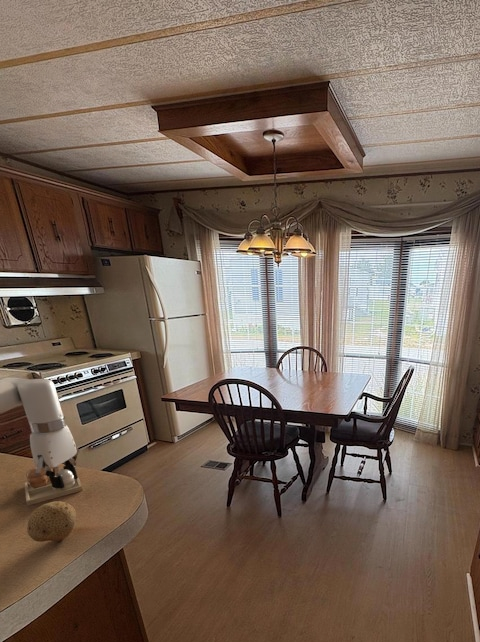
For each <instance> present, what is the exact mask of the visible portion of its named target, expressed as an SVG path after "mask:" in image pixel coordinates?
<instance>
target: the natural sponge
mask: <svg viewBox="0 0 480 642" xmlns="http://www.w3.org/2000/svg"><path fill="white" fill-rule="evenodd" d="M76 519H77V513H76V510H75V508H74V507H73V506H72V505H71V504H70V503H67V502H64V501H60V500H59V501H58V500H57V501H51V502H47V503H44V504H42V505H40V506H38V507H37V508H35V510H33V511H32V513H31V514H30V515H29V517H28V521H27V534H28V536H29V537H30V538H31V539H32V540H33V541H35V542H41V543H43V542H48V541H49V542H50V541H51V542H59V541H63V540H66V538H67V537H68V536H69V535H70V534H71V533H72V532H73V530H74V528H75V525H76Z"/></svg>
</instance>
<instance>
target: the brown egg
mask: <svg viewBox="0 0 480 642" xmlns="http://www.w3.org/2000/svg"><path fill="white" fill-rule="evenodd" d="M36 469H37V467H36V466H35V467H31V468H29V469H28V470H27V472H26V474H25V477H26V480H27V482H28V483H29V485H30V486H31V487H33V488H34V489H35V488H39V487H43V486H46V484H47V482H48V478H47V476H46V475H42V474H36Z"/></svg>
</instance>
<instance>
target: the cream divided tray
mask: <svg viewBox="0 0 480 642" xmlns="http://www.w3.org/2000/svg"><path fill="white" fill-rule="evenodd" d="M77 476H78V478H77V479H74V480H75V484H74V486H73V488H70V489H67V490H63V491H62V490H61V489H59V488H53V487H52V484H51V481H50V478H49V477H47V478H48V482H47V484H46V486H43V487H39V488H35V489H34V488H33V487H31V486H30V485H29V483H28V481H25V482H23V484H24V492H25V502H26V505H27V506H31V505H35V504H39V503H42V502H46V501H49V500H53V499H57V498H60V497H63V496H67V495H71V494H74V493H77V492H82V491H83V486H82V483H81V481H80V479H79V475H78V474H77Z"/></svg>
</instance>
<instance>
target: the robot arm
mask: <svg viewBox="0 0 480 642" xmlns="http://www.w3.org/2000/svg"><path fill="white" fill-rule="evenodd" d="M21 406H23V409H24V412H25V416H26V419H27V421H28V425H29V427H30V432H31V433H30V434H29V446H30V451H31V456H32V460H33V464H34V465H35V467H37V469H36V474H42V475H46V476H47V477H49V478H50V481H51V484H52V487H53V488H64V483H63V479H62V476H61V475H59V470H60V469H59V466H60V465H62V464H63V465H64V466H63V467H62V469H68V470H70V471H71V472H72V473H73V476H74V479H77V478H79V475H78V473H77V469H76V465H77V462H76V461H77V459H78V455H79V453H80V449H79V448H78V447H77V445H76V442H75V439H74V437H73V435H72V431H71V430H70V428H69V426H68V424H66V421H65V418H66V416H65V415H64V413H63V409H62V407H61V403H60V400H59V396H58V392H57V389H56V385H55V383H54V381H52V380H50V379H47V378H32V379H29V378H23V377H16V376H15V377H14V376H10V377H4V378H3V377H2V378H0V415H1V414H4V413H6V412H8V411H10V410H12V409H14V408H18V407H21ZM77 475H78V476H77Z"/></svg>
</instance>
